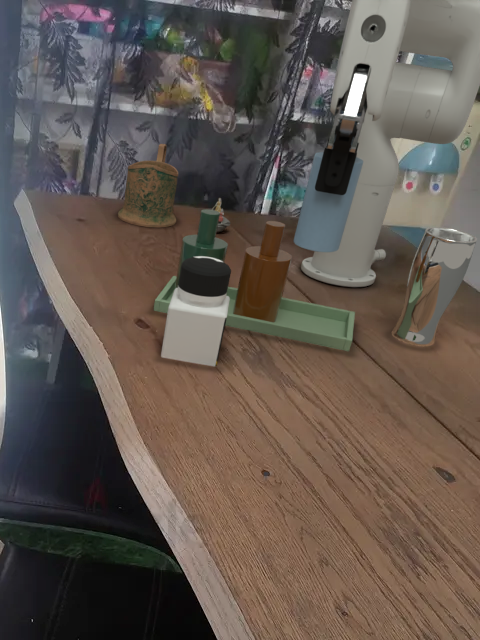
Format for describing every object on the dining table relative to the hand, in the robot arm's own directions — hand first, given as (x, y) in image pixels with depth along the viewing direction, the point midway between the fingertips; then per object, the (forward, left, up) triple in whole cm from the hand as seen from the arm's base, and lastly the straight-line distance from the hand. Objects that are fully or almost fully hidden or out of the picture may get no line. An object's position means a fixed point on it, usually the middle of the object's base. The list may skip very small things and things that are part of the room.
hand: (331, 184), depth 78 cm
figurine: (-36, -52, -23) cm, 67 cm away
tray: (-11, -16, -23) cm, 30 cm away
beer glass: (-28, -1, -23) cm, 37 cm away
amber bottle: (-11, -16, -22) cm, 30 cm away
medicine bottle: (+6, -11, -23) cm, 26 cm away
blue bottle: (0, 0, -6) cm, 6 cm away
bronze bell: (-30, -65, -23) cm, 75 cm away
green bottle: (-6, -23, -22) cm, 33 cm away
